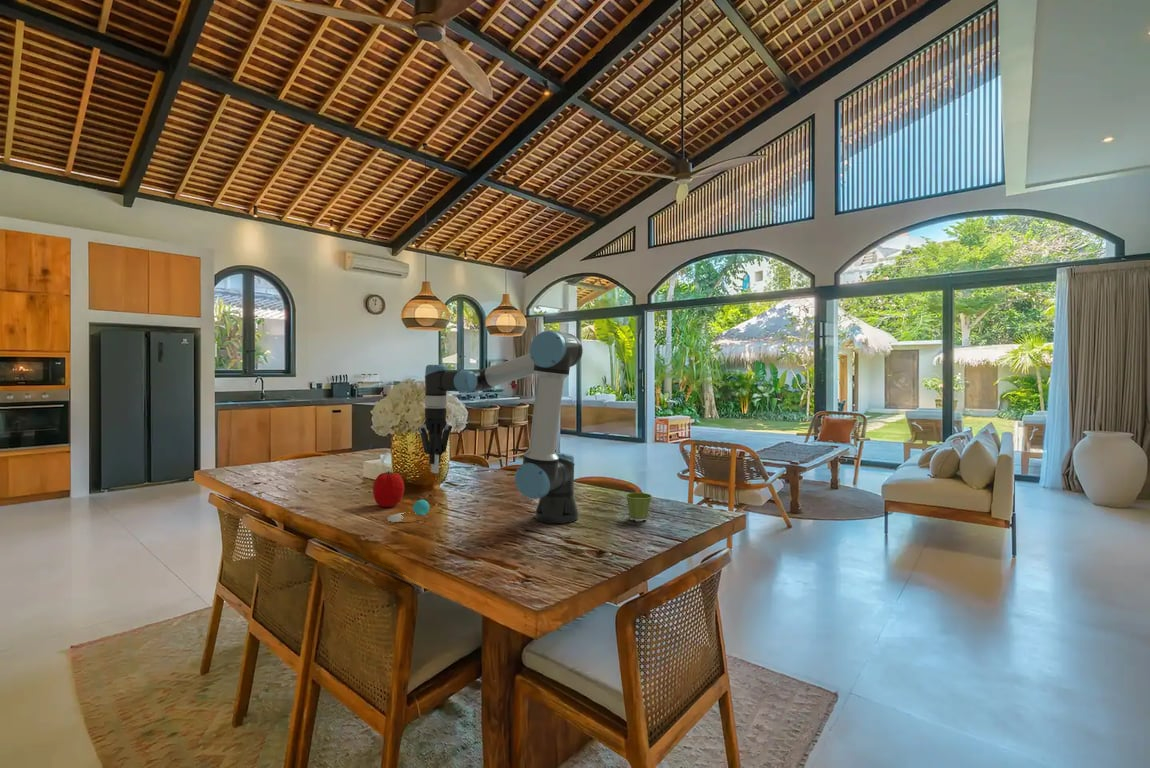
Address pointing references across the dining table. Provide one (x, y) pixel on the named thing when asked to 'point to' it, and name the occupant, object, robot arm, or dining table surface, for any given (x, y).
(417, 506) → the ball
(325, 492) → the dining table surface
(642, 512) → the plant pot
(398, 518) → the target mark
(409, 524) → the dining table surface
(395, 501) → the tomato
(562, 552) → the dining table surface
